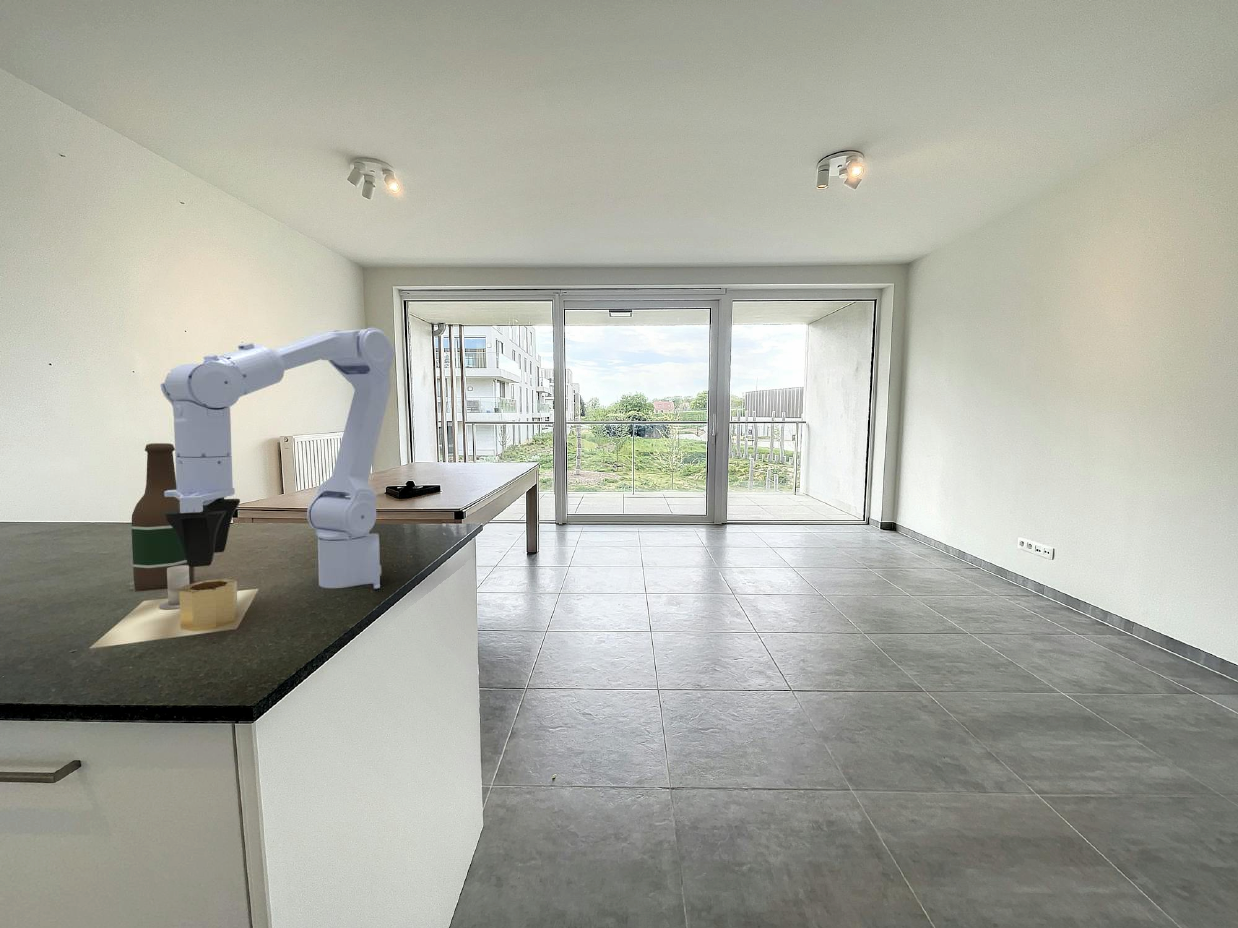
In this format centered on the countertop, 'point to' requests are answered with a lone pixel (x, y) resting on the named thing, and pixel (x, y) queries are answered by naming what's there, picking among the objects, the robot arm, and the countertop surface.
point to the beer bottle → (156, 523)
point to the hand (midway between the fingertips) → (207, 558)
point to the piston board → (165, 615)
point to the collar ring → (208, 604)
